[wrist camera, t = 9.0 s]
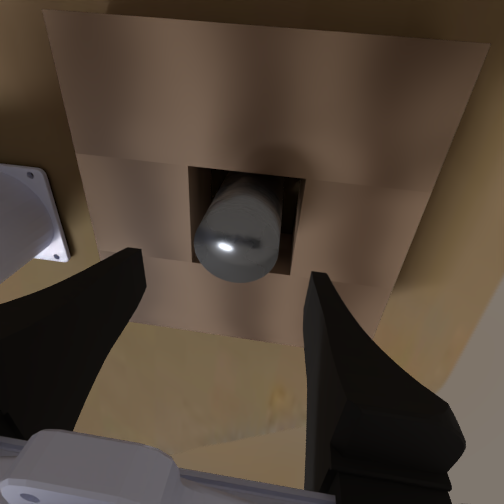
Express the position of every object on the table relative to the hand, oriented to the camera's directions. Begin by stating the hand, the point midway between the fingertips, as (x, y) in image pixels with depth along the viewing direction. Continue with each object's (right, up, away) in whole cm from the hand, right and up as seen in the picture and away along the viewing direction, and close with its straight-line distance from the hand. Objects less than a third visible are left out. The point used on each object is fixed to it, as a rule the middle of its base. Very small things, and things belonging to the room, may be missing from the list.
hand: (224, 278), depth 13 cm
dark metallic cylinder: (+1, +6, +8) cm, 10 cm away
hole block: (+1, +5, +8) cm, 10 cm away
